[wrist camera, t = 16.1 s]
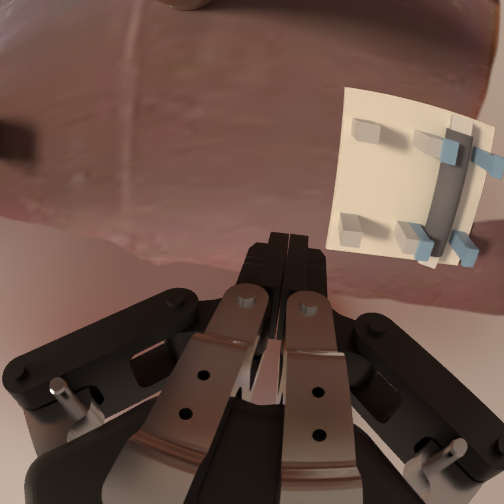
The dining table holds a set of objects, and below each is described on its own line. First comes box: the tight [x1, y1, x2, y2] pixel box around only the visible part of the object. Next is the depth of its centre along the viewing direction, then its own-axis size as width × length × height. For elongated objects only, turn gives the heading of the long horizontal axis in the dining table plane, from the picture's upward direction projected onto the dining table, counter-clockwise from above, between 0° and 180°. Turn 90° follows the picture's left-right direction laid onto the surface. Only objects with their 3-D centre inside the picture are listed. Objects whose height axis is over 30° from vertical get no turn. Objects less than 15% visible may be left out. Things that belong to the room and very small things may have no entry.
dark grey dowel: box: [418, 115, 473, 269], centre depth 30 cm, size 20×4×4 cm, turn 178°
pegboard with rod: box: [326, 87, 504, 268], centre depth 30 cm, size 21×21×6 cm
